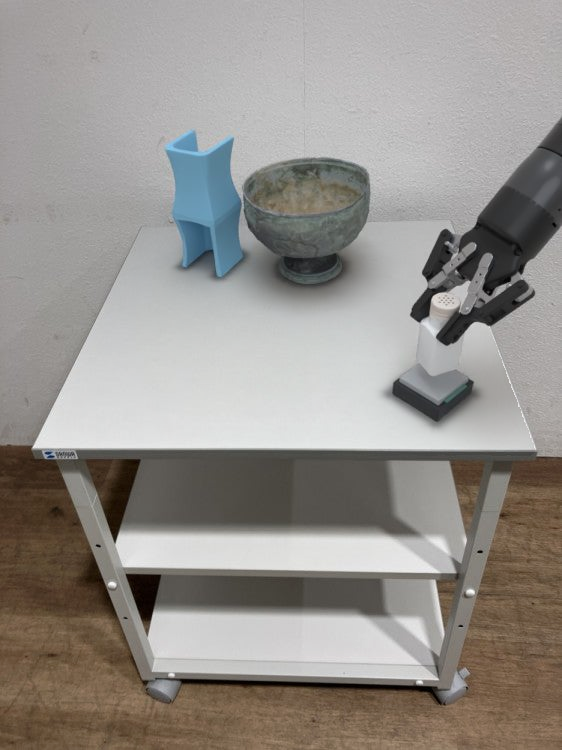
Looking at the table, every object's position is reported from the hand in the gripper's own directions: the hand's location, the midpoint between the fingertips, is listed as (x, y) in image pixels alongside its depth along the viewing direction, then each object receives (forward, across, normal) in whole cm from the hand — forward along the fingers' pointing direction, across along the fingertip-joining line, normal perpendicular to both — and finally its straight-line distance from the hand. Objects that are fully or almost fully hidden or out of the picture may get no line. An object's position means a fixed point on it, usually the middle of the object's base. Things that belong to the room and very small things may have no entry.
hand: (428, 330), depth 70 cm
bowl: (+6, -34, +10) cm, 36 cm away
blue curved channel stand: (+15, -44, +1) cm, 46 cm away
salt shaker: (+3, 0, +6) cm, 7 cm away
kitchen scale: (+6, 0, +9) cm, 11 cm away
